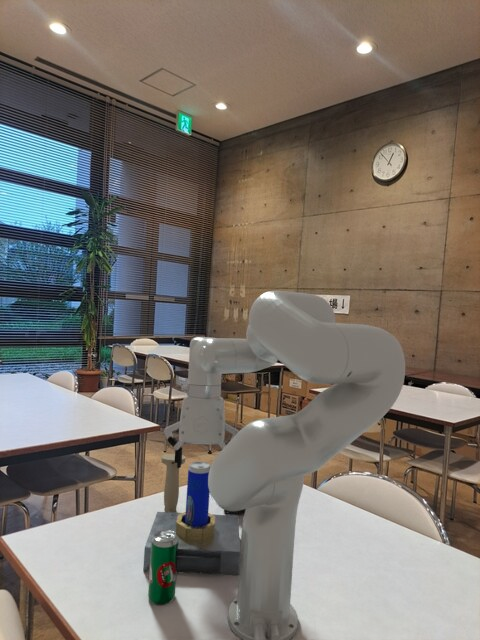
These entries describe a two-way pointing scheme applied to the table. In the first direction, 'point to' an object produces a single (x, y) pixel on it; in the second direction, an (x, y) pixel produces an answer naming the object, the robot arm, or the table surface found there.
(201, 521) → the beverage can
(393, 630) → the table surface
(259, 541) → the robot arm
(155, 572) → the soda can
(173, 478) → the handle
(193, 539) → the grey block platform
